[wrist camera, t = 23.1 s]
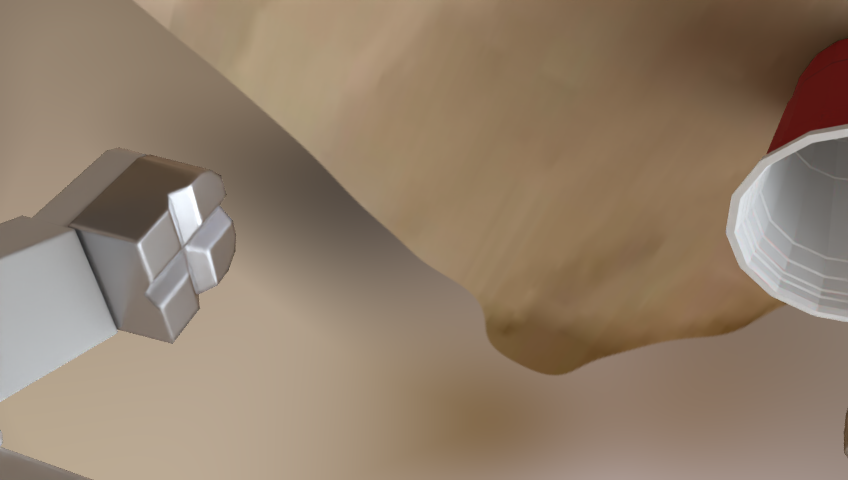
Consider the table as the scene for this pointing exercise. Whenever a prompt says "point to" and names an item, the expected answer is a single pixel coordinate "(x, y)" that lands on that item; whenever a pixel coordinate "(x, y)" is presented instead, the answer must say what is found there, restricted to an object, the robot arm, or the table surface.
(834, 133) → the plastic cup
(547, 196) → the table surface
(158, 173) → the robot arm
